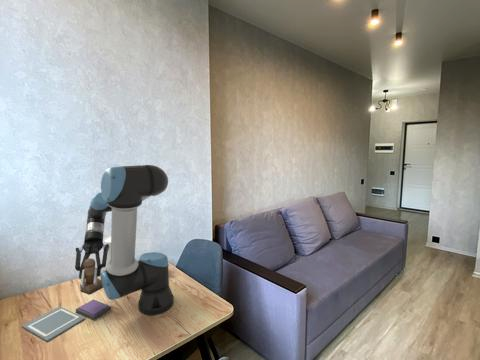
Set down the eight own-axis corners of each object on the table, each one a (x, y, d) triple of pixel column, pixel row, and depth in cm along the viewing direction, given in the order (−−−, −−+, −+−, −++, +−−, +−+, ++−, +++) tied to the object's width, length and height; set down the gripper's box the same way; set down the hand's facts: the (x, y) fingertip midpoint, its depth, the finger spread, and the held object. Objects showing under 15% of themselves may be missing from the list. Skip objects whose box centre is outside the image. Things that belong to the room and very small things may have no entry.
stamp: (102, 287, 112) (100, 257, 110) (89, 294, 107) (86, 262, 105) (94, 285, 115) (91, 255, 113) (80, 291, 109) (77, 260, 108)
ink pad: (111, 309, 112) (110, 305, 112) (93, 320, 105) (93, 316, 105) (93, 302, 118) (93, 298, 118) (75, 312, 111) (75, 308, 110)
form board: (85, 319, 106) (85, 317, 106) (47, 342, 94) (47, 340, 94) (59, 307, 114) (59, 306, 114) (21, 327, 102) (21, 325, 102)
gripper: (115, 235, 126) (113, 284, 112) (75, 240, 121) (67, 291, 107) (113, 228, 120) (110, 278, 106) (71, 232, 115) (61, 285, 101)
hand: (88, 285), depth 106 cm, fingers closed on stamp, 4 cm apart
